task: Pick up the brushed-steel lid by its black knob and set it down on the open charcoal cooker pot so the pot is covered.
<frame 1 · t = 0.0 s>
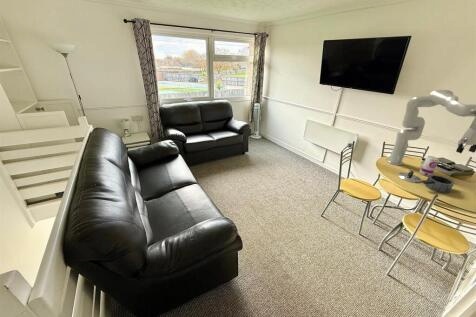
hand: (464, 152, 136), 31 cm above the table, fingers open, 9 cm apart
supplement can: (425, 174, 172), on the table
lid: (408, 178, 166), on the table
pot: (436, 187, 153), on the table
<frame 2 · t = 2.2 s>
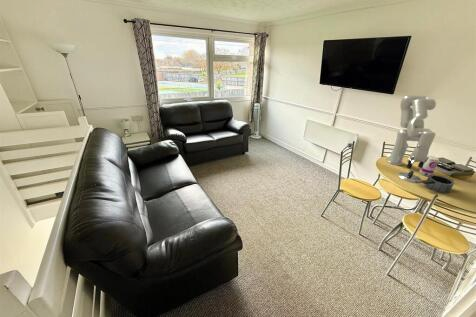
hand: (414, 167, 161), 10 cm above the table, fingers open, 9 cm apart
nothing on the table moved.
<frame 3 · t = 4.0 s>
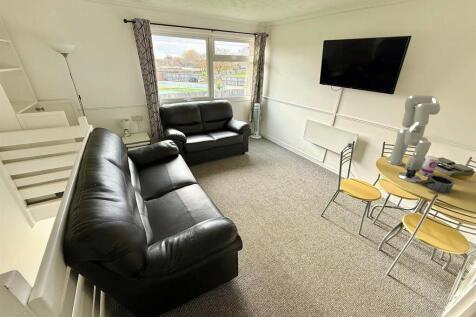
hand: (409, 176, 165), 2 cm above the table, fingers closed on lid, 3 cm apart
lid: (408, 177, 166), on the table, touching gripper
everything else where it was.
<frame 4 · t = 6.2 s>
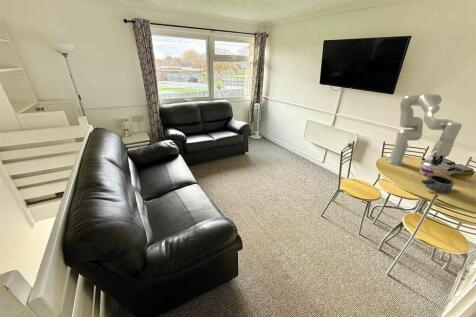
hand: (435, 163, 150), 18 cm above the table, fingers closed on lid, 3 cm apart
lid: (434, 165, 151), point 16 cm above the table, touching gripper
everything else where it was.
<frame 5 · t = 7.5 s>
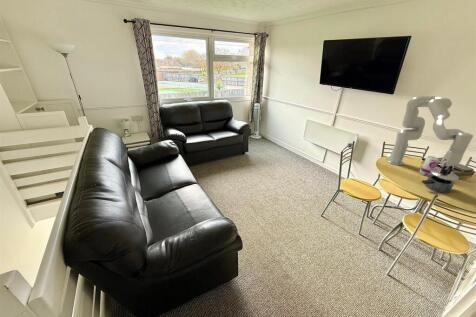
hand: (444, 173, 148), 12 cm above the table, fingers closed on lid, 3 cm apart
lid: (443, 175, 148), point 11 cm above the table, touching gripper
everything else where it was.
when the fingers open (10 cm above the table, at t = 8.6 s): lid drops 1 cm, resting on pot.
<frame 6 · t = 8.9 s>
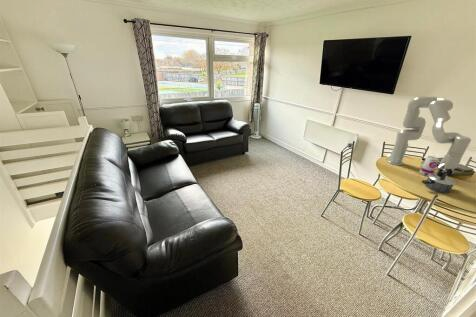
hand: (443, 175, 149), 10 cm above the table, fingers open, 6 cm apart
lid: (441, 179, 150), point 7 cm above the table, touching pot
everything else where it was.
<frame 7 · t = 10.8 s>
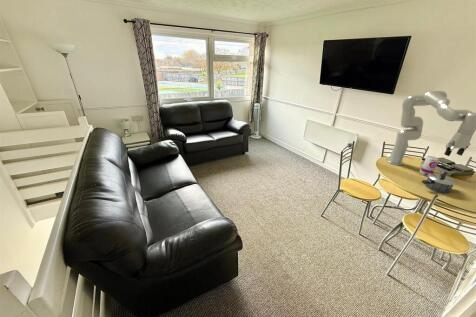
hand: (452, 154, 143), 27 cm above the table, fingers open, 9 cm apart
nothing on the table moved.
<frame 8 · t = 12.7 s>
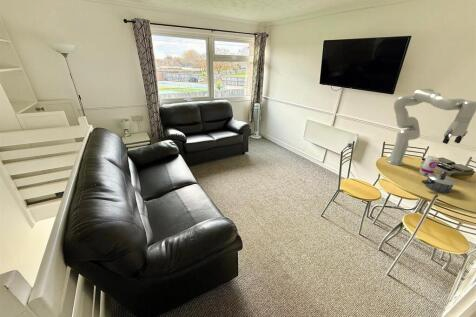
hand: (450, 142, 148), 32 cm above the table, fingers open, 9 cm apart
nothing on the table moved.
at the end: lid 0.1 cm off-centre on the pot, point 7.0 cm above the pot's base; lid tilted 0°; the gripper is holding nothing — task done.
